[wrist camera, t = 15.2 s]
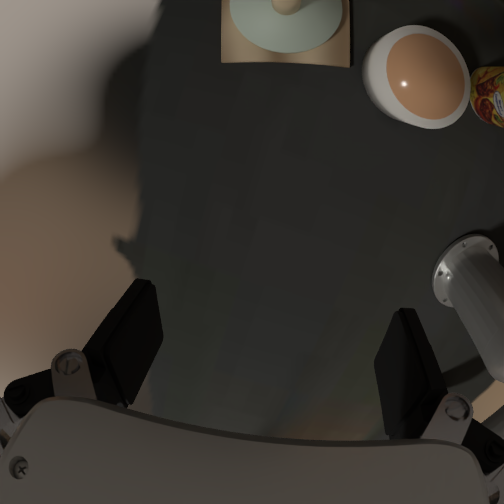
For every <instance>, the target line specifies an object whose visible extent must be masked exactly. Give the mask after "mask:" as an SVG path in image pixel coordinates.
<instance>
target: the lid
mask: <svg viewBox="0 0 504 504" xmlns="http://www.w3.org/2000/svg"><path fill="white" fill-rule="evenodd" d="M230 13H231V17H232V19H233V22H234V23H235V25H236V27H237V28H238V30H239V31H240V32H241V33H242V35H243V36H244V37H246V38H247V39H248V40H249V41H250V42H252V43H253V44H255V45H257V46H259V47H261V48H263V49H266V50H269V51H272V52H277V53H286V54H287V53H301V52H305V51H309V50H311V49H314V48H316V47H318V46H320V45H322V44H323V43H325V42H326V41H327V40H328V39H329V38H330V37H331V36H332V35H333V34H334V32H335V31H336V29H337V28H338V26H339V24H340V21H341V18H342V2H341V0H230Z"/></svg>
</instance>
